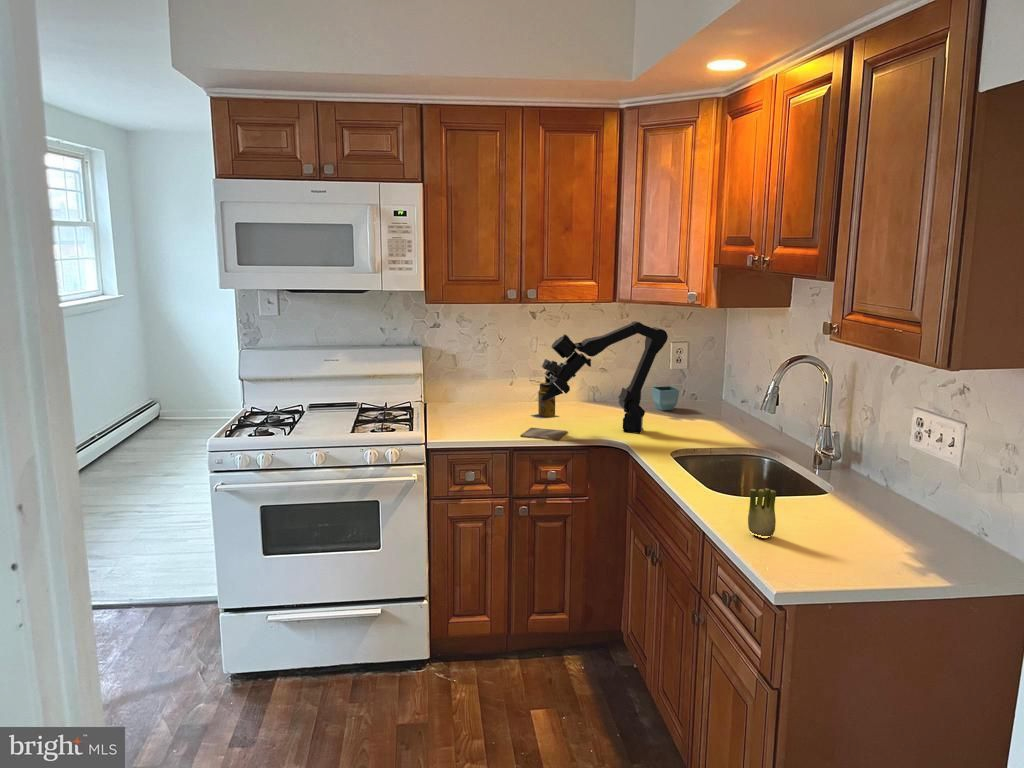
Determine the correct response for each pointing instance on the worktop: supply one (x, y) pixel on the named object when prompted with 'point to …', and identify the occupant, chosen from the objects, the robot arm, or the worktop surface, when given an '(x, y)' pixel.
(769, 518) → the fennel bulb
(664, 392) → the flower pot
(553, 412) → the condiment
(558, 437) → the walnut coaster
